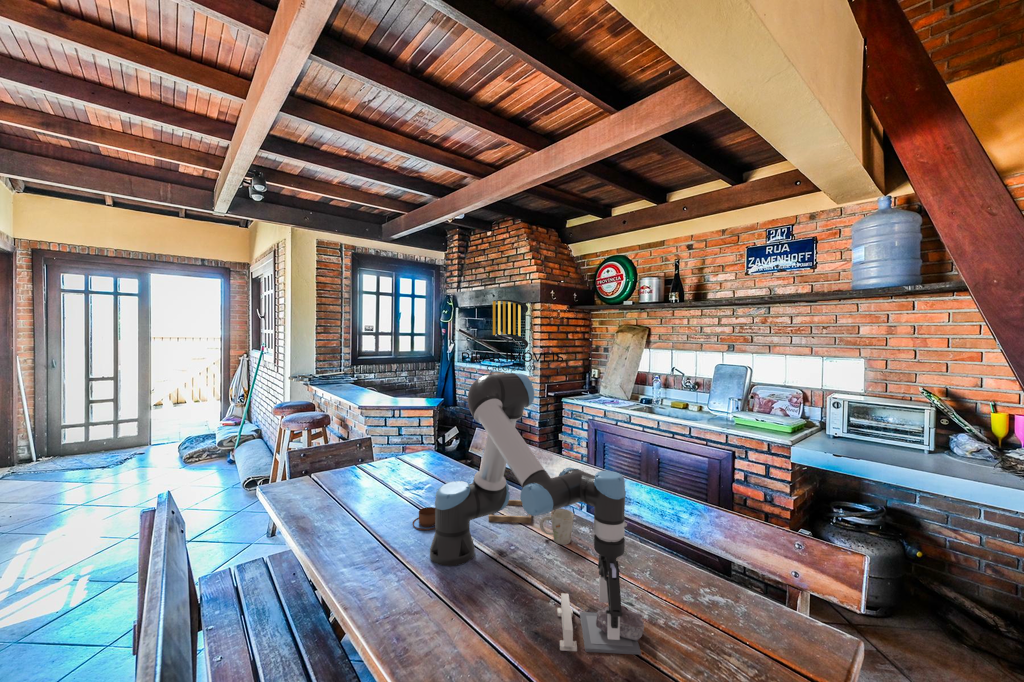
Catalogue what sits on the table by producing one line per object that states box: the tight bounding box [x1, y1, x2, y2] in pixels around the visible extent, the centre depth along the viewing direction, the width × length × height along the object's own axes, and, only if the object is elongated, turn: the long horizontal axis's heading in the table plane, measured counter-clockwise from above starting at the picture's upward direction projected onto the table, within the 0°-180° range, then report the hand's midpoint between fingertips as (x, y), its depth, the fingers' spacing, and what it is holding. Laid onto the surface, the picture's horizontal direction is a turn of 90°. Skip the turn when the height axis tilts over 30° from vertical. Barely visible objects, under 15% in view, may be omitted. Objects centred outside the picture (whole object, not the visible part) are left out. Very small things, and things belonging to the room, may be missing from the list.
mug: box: [539, 508, 575, 545], centre depth 152 cm, size 8×13×10 cm, turn 78°
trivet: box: [579, 611, 642, 656], centre depth 104 cm, size 13×13×1 cm
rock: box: [596, 604, 645, 641], centre depth 104 cm, size 8×11×5 cm
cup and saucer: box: [412, 506, 435, 531], centre depth 162 cm, size 12×12×6 cm
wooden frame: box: [488, 499, 532, 524], centre depth 173 cm, size 17×17×3 cm
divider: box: [556, 592, 578, 652], centre depth 105 cm, size 4×14×5 cm, turn 176°
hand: (608, 618), depth 104 cm, fingers open, 13 cm apart
